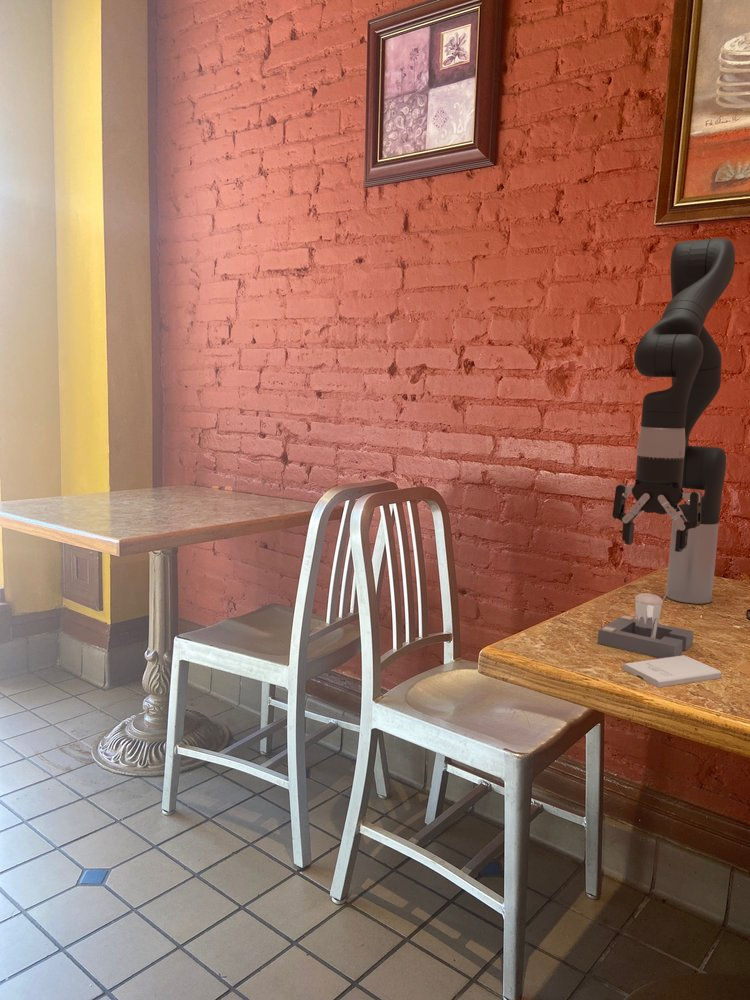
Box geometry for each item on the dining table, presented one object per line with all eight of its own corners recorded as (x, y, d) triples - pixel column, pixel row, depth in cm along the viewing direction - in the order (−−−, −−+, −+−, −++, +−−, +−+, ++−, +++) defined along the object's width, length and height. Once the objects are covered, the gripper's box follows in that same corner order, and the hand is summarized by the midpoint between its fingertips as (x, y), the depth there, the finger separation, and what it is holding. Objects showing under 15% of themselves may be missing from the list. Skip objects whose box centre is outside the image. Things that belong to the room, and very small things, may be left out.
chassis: (619, 629, 140) (620, 614, 140) (692, 644, 132) (693, 629, 132) (597, 643, 132) (598, 628, 131) (673, 661, 124) (675, 644, 123)
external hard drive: (721, 681, 117) (658, 690, 112) (681, 663, 124) (621, 671, 120) (722, 671, 117) (659, 680, 112) (682, 654, 124) (622, 661, 119)
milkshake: (665, 650, 129) (670, 593, 128) (633, 647, 130) (637, 591, 129) (661, 641, 133) (666, 587, 132) (630, 639, 135) (634, 584, 133)
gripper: (710, 456, 126) (702, 550, 128) (626, 450, 134) (620, 538, 137) (698, 458, 120) (690, 557, 122) (611, 452, 129) (605, 545, 131)
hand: (653, 547), depth 130 cm, fingers open, 8 cm apart
